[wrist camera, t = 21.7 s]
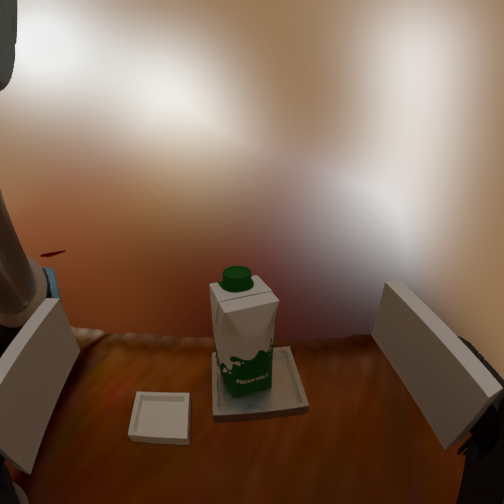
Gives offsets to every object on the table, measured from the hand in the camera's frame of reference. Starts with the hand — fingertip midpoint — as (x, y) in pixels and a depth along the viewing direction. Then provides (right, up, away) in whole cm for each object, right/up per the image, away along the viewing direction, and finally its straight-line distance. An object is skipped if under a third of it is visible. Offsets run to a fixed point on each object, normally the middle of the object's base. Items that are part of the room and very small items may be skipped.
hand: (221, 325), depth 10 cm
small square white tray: (-13, -24, +26) cm, 38 cm away
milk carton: (0, -19, +35) cm, 40 cm away
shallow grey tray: (+2, -20, +34) cm, 40 cm away
